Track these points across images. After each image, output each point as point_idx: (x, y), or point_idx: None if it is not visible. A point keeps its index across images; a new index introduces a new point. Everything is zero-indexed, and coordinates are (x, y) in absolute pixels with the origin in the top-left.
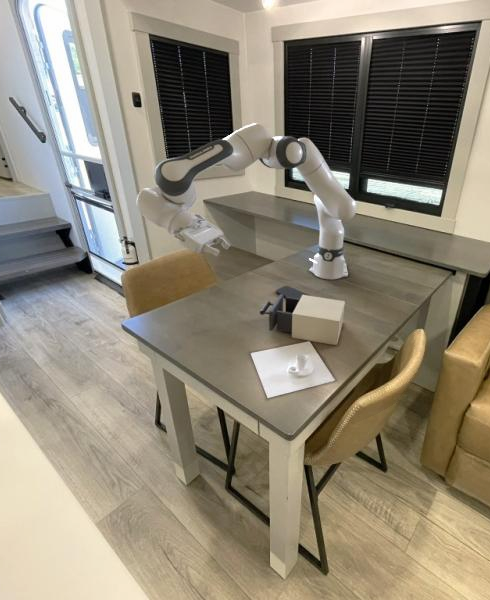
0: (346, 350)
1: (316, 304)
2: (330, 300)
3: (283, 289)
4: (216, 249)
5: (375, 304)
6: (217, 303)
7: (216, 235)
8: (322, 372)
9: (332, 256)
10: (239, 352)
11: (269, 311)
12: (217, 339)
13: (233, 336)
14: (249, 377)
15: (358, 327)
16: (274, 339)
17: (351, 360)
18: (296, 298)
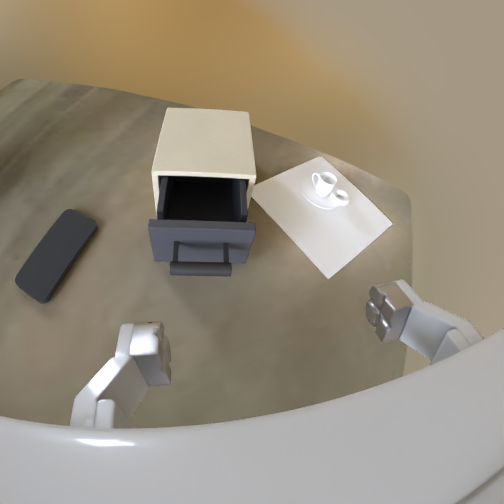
0: None
1: (195, 142)
2: (169, 124)
3: (34, 282)
4: (400, 298)
5: (93, 120)
6: None
7: (169, 438)
8: (314, 168)
9: None
10: (335, 300)
11: (255, 230)
12: (316, 369)
13: (291, 339)
14: (377, 258)
15: None
16: (264, 249)
17: (269, 139)
18: (161, 187)
